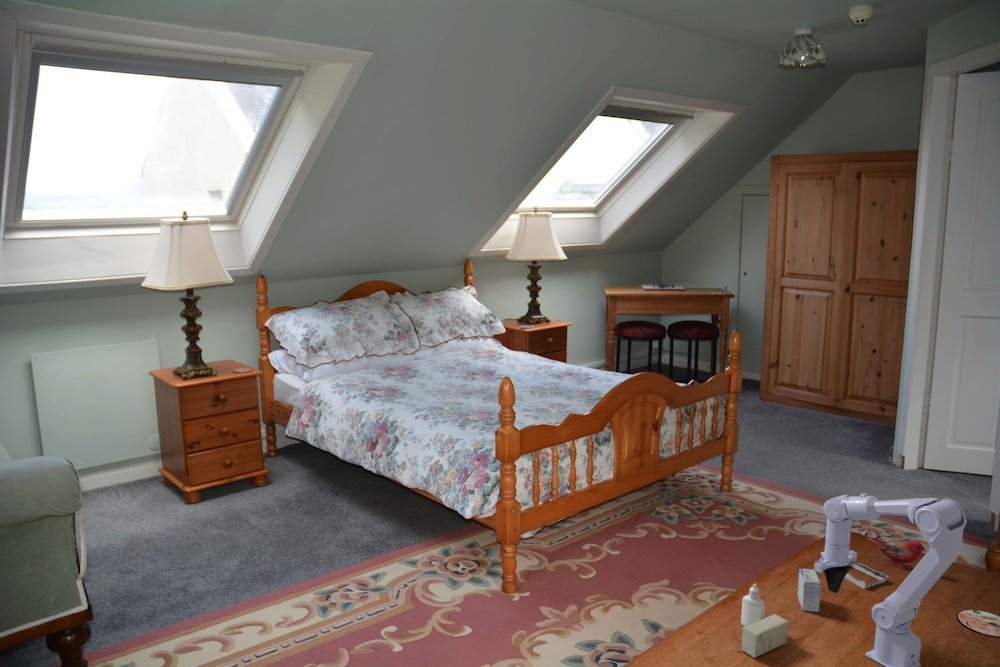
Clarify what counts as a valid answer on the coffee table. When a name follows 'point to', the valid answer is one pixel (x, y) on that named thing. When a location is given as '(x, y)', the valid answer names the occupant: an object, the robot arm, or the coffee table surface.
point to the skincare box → (764, 635)
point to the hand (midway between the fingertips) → (833, 590)
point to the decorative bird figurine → (900, 551)
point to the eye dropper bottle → (752, 607)
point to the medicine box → (809, 590)
